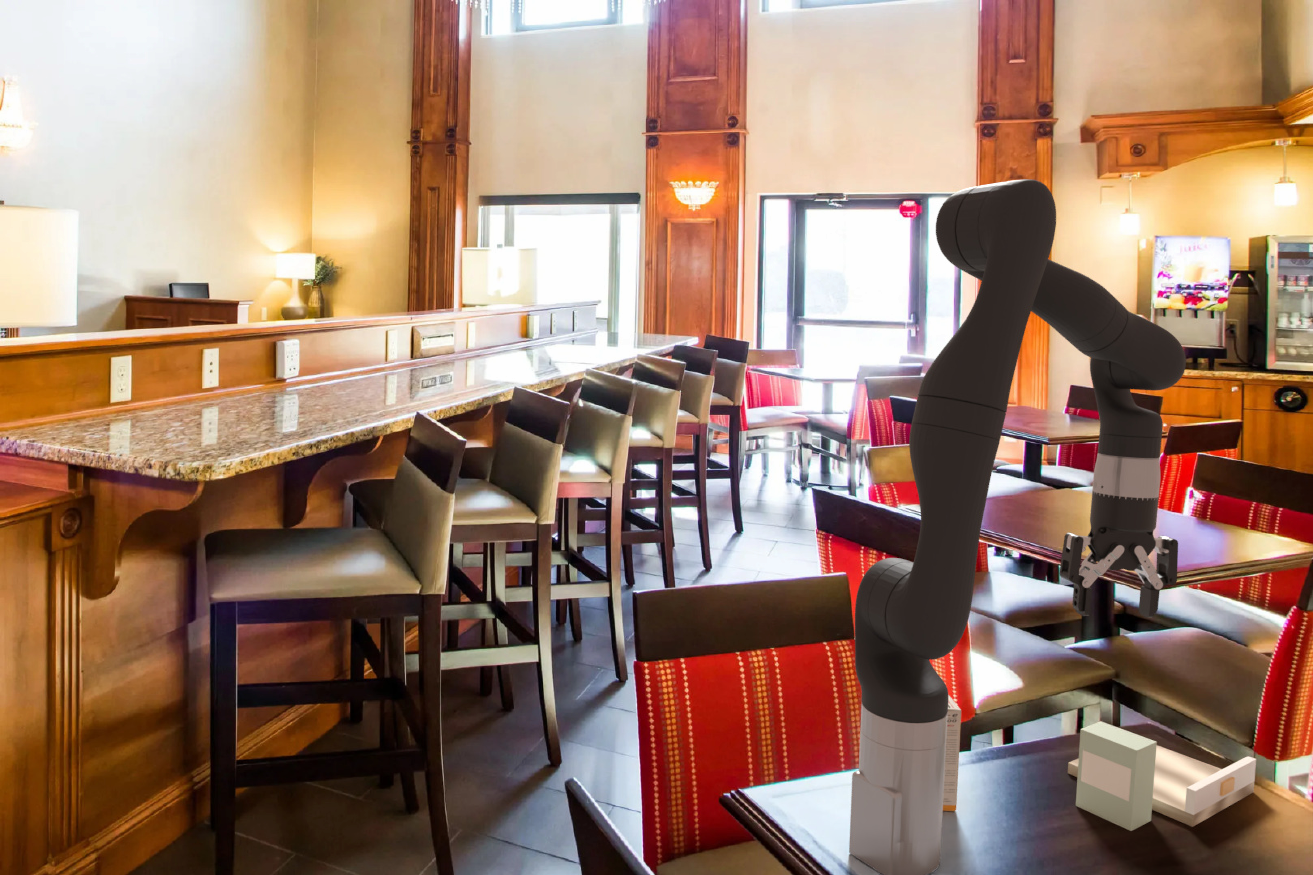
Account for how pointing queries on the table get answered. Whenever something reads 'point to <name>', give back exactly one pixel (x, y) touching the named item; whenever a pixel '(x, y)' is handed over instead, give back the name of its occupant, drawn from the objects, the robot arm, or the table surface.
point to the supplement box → (952, 756)
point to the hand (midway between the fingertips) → (1114, 615)
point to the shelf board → (1194, 785)
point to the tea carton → (1116, 775)
